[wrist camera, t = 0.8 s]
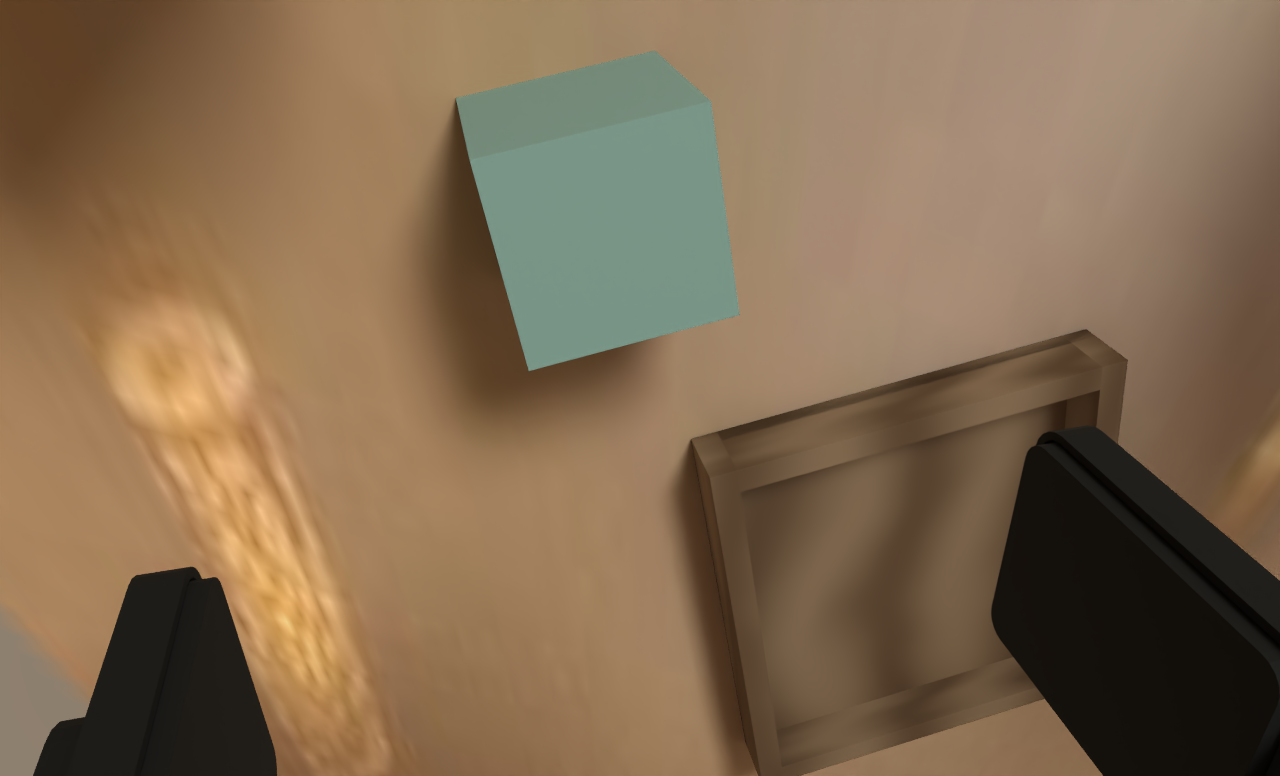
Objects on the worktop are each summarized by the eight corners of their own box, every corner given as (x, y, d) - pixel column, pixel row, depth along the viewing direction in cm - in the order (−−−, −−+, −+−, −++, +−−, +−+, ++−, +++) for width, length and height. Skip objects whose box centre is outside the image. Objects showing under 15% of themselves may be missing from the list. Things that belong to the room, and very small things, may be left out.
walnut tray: (1086, 329, 37) (1127, 360, 35) (1057, 645, 47) (1088, 684, 45) (691, 439, 36) (709, 478, 34) (745, 742, 45) (763, 787, 43)
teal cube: (654, 50, 28) (710, 101, 23) (684, 234, 32) (739, 314, 27) (455, 97, 28) (469, 159, 23) (506, 280, 31) (528, 371, 26)
